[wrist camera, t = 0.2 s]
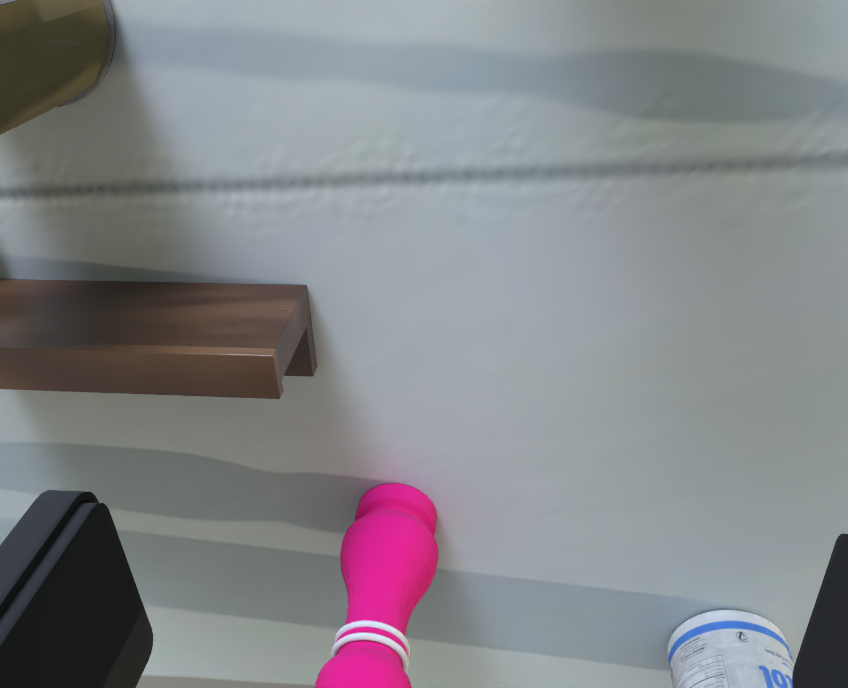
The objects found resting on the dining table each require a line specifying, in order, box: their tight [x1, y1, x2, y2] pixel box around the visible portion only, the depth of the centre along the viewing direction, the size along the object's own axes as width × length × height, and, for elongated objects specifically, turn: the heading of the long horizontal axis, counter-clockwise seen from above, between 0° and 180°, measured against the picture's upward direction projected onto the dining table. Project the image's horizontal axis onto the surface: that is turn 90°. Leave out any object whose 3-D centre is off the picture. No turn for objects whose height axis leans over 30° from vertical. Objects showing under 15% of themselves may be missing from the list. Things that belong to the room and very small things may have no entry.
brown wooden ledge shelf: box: [0, 279, 317, 399], centre depth 49 cm, size 6×24×9 cm, turn 92°
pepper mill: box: [315, 484, 438, 688], centre depth 51 cm, size 7×7×20 cm
